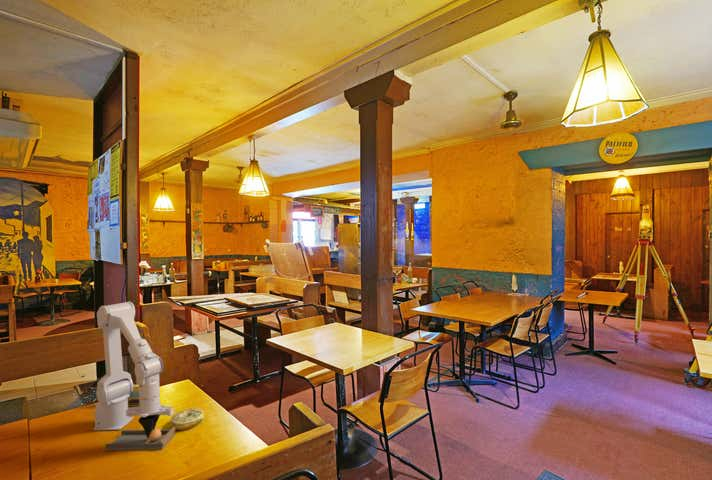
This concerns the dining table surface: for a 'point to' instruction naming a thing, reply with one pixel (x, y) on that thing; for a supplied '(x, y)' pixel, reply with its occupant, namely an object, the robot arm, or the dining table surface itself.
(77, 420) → the dining table surface
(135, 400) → the candy box
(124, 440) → the lane
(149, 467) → the dining table surface
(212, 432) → the dining table surface
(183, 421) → the decorated donut
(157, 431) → the ball
